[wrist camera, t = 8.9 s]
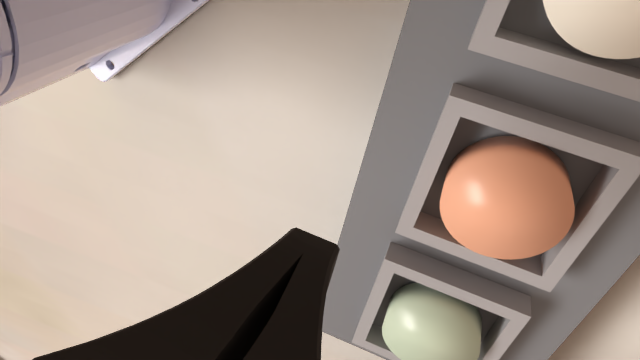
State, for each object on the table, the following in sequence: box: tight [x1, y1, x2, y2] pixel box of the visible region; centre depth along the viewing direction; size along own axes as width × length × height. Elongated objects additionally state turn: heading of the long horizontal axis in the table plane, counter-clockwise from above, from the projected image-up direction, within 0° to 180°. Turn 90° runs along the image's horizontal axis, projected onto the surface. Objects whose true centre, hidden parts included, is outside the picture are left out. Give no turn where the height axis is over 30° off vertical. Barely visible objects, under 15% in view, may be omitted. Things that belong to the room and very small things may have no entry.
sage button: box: [382, 283, 482, 360], centre depth 21 cm, size 4×4×2 cm
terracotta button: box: [440, 136, 575, 260], centre depth 17 cm, size 4×4×2 cm
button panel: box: [322, 0, 640, 360], centre depth 18 cm, size 26×11×4 cm, turn 169°
